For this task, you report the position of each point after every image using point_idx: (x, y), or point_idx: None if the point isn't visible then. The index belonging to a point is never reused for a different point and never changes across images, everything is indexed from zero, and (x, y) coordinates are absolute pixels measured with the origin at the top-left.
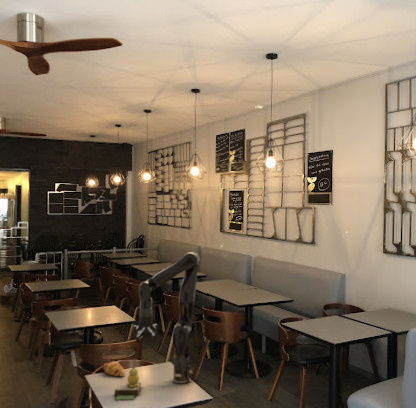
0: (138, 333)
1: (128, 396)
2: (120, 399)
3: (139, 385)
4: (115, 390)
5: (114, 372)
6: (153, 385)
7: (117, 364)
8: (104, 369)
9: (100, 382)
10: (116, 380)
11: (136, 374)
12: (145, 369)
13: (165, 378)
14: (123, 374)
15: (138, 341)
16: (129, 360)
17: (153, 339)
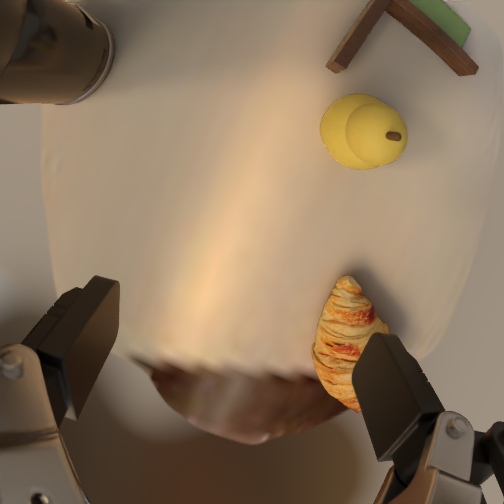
0: (467, 482)
1: (421, 6)
2: (454, 13)
3: (358, 26)
4: (476, 64)
5: (376, 316)
6: (242, 57)
7: (348, 367)
8: None
9: (447, 264)
10: (387, 249)
11: (360, 106)
12: (189, 318)
13: (132, 128)
14: (347, 276)
15: (397, 351)
16: (222, 430)
17: (75, 302)
